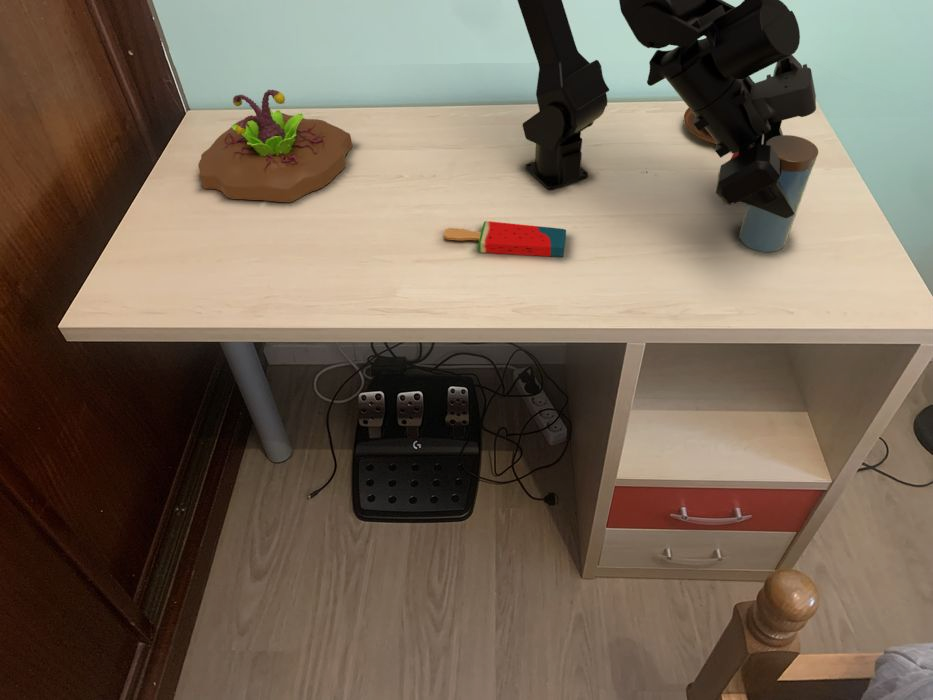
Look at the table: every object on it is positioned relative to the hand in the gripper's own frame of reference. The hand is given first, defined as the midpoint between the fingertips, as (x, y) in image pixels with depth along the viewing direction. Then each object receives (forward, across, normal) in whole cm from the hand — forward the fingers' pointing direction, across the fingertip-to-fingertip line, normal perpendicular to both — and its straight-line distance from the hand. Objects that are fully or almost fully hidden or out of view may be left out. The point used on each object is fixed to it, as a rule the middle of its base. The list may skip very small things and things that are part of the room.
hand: (791, 193), depth 85 cm
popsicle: (-18, -9, +28) cm, 34 cm away
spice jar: (+4, 0, +6) cm, 7 cm away
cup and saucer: (0, +25, +10) cm, 27 cm away
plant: (-43, 0, +53) cm, 68 cm away
